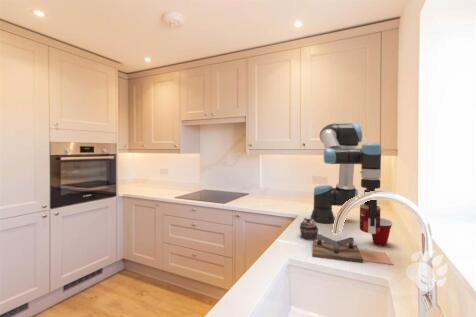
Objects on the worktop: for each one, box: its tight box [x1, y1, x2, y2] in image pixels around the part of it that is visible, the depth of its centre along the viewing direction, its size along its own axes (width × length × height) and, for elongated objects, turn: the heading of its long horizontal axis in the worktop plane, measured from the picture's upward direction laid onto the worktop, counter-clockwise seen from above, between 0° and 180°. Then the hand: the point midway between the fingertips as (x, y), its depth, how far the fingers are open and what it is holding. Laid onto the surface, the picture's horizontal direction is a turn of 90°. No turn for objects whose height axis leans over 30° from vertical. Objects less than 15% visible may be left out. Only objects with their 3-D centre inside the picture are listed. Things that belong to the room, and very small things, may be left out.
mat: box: [359, 249, 394, 266], centre depth 106 cm, size 12×11×1 cm
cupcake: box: [299, 217, 319, 241], centre depth 131 cm, size 10×10×10 cm
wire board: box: [312, 233, 364, 264], centre depth 111 cm, size 16×20×6 cm
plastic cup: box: [371, 217, 394, 247], centre depth 121 cm, size 11×11×12 cm
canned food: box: [359, 203, 381, 234], centre depth 107 cm, size 8×8×11 cm
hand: (369, 230), depth 107 cm, fingers closed on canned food, 8 cm apart
